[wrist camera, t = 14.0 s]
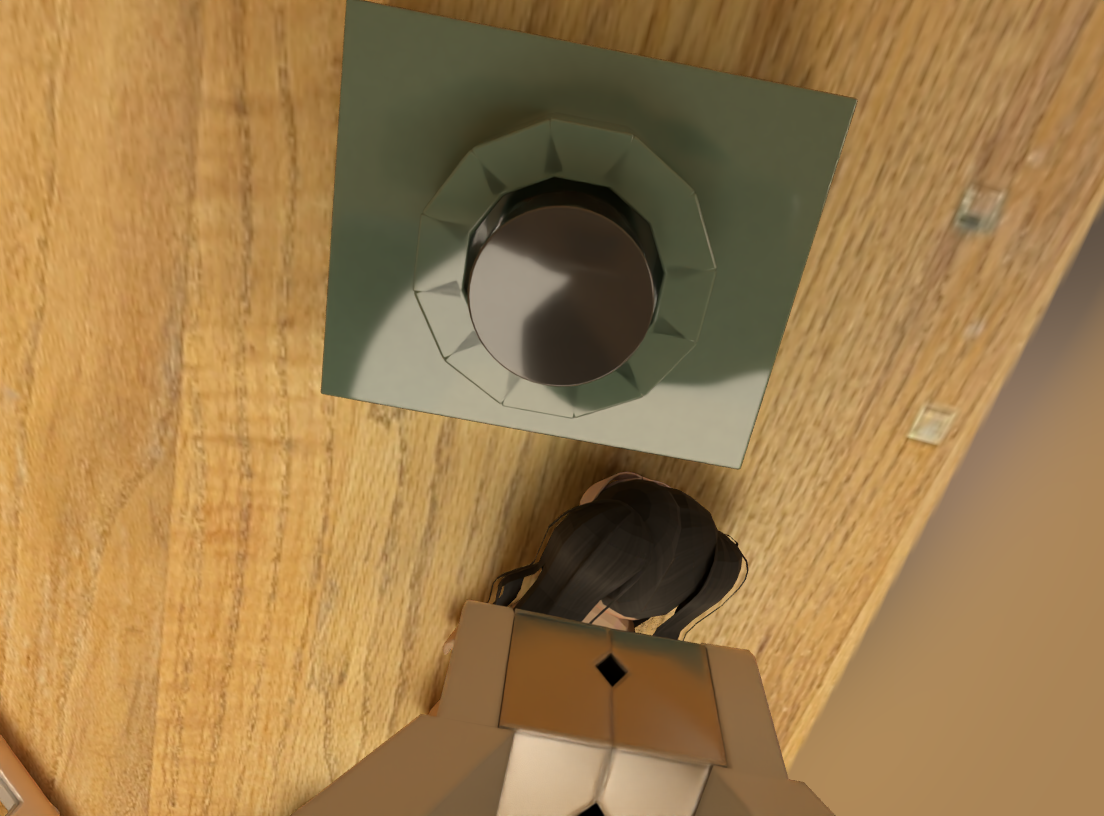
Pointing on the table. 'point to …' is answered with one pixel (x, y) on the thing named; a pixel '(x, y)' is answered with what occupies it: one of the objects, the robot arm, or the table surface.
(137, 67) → the table surface
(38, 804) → the tablet stand
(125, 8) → the table surface
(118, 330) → the table surface
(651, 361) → the green push button box
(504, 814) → the robot arm
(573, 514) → the toy figure
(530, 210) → the knob
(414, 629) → the table surface
